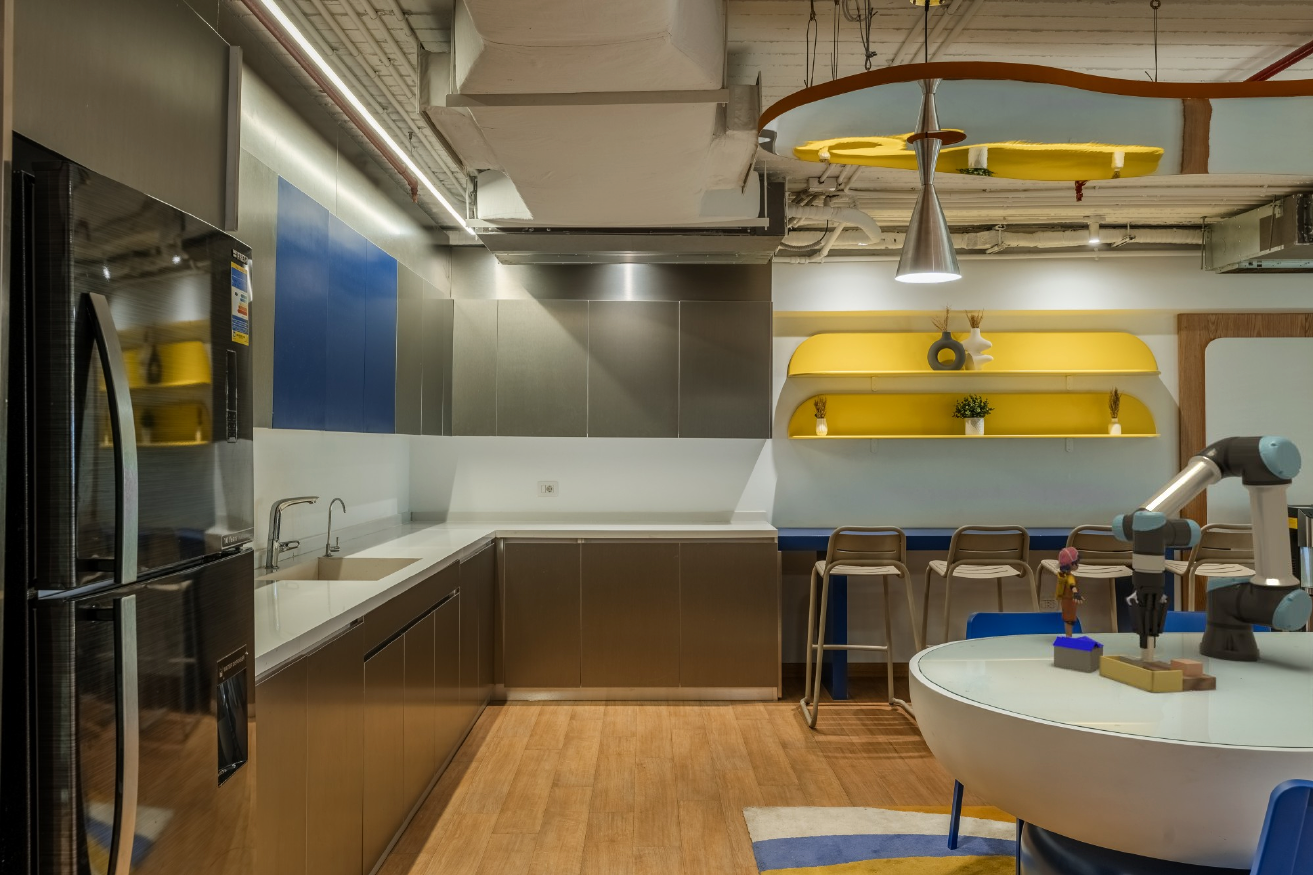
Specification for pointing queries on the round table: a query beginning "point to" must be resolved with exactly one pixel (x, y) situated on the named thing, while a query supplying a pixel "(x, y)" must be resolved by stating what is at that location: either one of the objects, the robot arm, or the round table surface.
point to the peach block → (1187, 666)
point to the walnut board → (1185, 677)
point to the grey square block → (1131, 660)
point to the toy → (1068, 587)
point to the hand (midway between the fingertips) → (1147, 660)
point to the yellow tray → (1140, 675)
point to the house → (1077, 653)
